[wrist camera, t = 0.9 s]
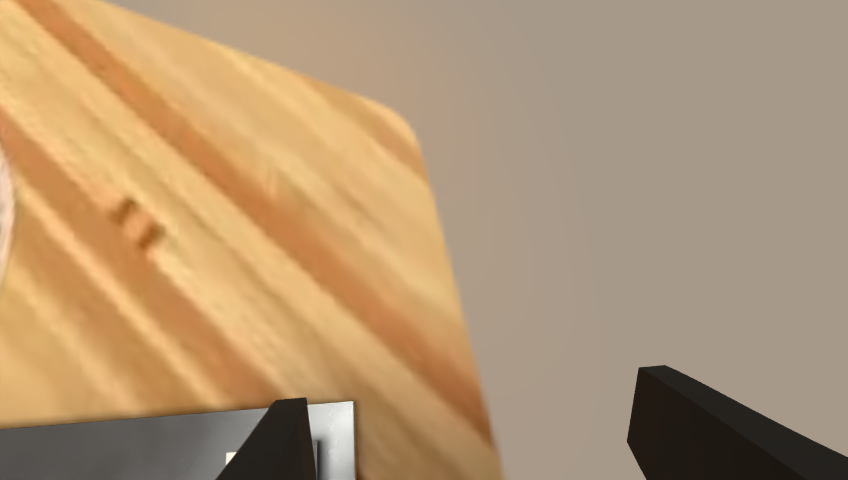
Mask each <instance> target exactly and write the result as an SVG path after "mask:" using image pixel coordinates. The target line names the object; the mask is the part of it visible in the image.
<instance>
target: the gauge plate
mask: <svg viewBox="0 0 848 480" xmlns="http://www.w3.org/2000/svg"><path fill="white" fill-rule="evenodd" d="M307 407H308V414H309V422H310V429H311V437H312V441H317V480H358V475H357V430H356V401H350V402H337V403H325V404H312V405H307ZM268 409H269V408H262V409H250V410H237V411H225V412H212V413H200V414H187V415H175V416H162V417H150V418H137V419H125V420H112V421H100V422H87V423H75V424H62V425H50V426H37V427H25V428H12V429H0V480H215V479H216V478H217V476H218V475H219V474H220V473H221V471H222V470H223V469H224V468H225V466H226V453H228V452H231V451H235V450H238V449H239V448H240V447H241V446H242V444H243V443H244V442H245V440H246V439H247V438H248V436H249V435H250V434H251V432H252V431H253V430H254V428H255V427H256V425H257V424H258V423H259V421H260V420H261V419H262V417H263V416H264V414H265V413H266V412H267V410H268Z"/></svg>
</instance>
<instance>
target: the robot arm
mask: <svg viewBox="0 0 848 480" xmlns="http://www.w3.org/2000/svg"><path fill="white" fill-rule="evenodd" d="M627 443H628V445H629V447H630V449H631V451H632V453H633V455H634V457H635V459H636V461H637V463H638V465H639V467H640V469H641V470H642V472H643V474H644V476H645V478H646V480H848V457H846V456H844V455H842V454H840V453H838V452H835V451H833V450H831V449H829V448H827V447H825V446H823V445H821V444H819V443H817V442H814V441H813V440H811V439H809V438H807V437H805V436H803V435H801V434H799V433H797V432H794V431H792V430H791V429H789V428H786V427H785V426H783V425H781V424H779V423H777V422H775V421H773V420H771V419H769V418H767V417H765V416H763V415H762V414H760V413H758V412H756V411H754V410H752V409H750V408H748V407H746V406H744V405H743V404H741V403H739V402H737V401H735V400H733V399H731V398H729V397H727V396H726V395H723V394H722V393H720V392H718V391H716V390H714V389H712V388H710V387H709V386H706V385H705V384H703V383H701V382H699V381H697V380H695V379H693V378H691V377H689V376H687V375H685V374H683V373H681V372H679V371H677V370H674V369H672V368H670V367H668V366H665V365H662V366H651V367H640V368H639V370H638V375H637V382H636V388H635V394H634V400H633V407H632V413H631V419H630V426H629V432H628V438H627ZM316 475H317V474H316V467H315V459H314V452H313V444H312V437H311V429H310V422H309V414H308V407H307V399H306V398H295V399H284V400H276V401H275V402H274V403H273V404H272V405H271V406H270V407H269V409H268V410H267V412H266V413H265V414H264V416H263V417H262V419H261V420H260V421H259V423H258V424H257V425H256V427H255V428H254V430H253V431H252V432H251V434H250V435H249V436H248V438H247V439H246V440H245V442H244V443H243V444H242V446H241V447H240V448H239V450H238V451H237V452H236V454H235V455H234V456H233V458H232V459H231V460H230V461H229V463H228V464H227V465H226V466H225V468H224V469H223V470H222V471H221V473H220V474H219V475H218V476H217V478H216V479H215V480H316Z"/></svg>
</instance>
